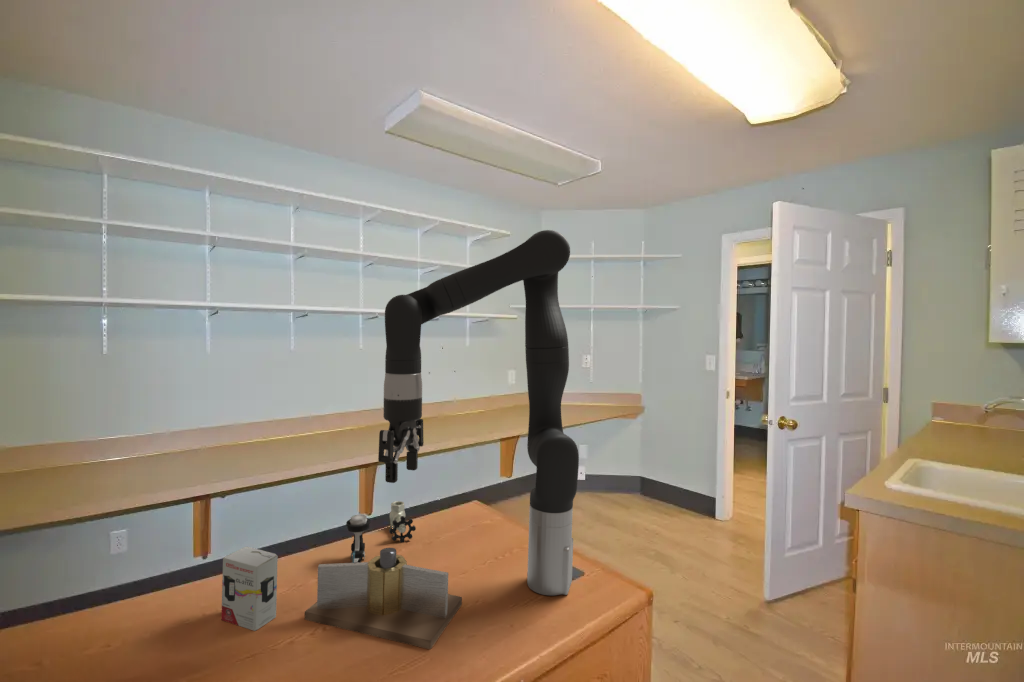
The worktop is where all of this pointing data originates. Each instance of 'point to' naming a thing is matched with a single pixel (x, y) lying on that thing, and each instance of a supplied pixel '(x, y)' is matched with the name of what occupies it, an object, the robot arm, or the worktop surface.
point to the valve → (400, 522)
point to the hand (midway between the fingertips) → (402, 475)
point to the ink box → (249, 588)
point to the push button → (358, 536)
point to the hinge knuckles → (383, 587)
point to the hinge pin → (387, 558)
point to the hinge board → (388, 622)
